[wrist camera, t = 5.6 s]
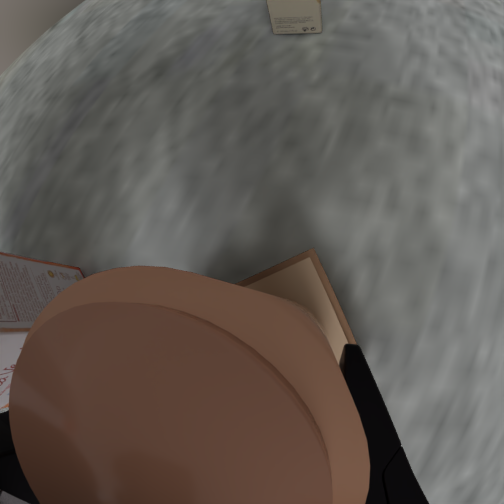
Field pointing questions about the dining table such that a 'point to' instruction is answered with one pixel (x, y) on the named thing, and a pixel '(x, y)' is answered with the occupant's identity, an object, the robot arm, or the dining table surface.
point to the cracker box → (25, 305)
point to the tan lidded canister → (183, 397)
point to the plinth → (306, 294)
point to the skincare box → (295, 16)
